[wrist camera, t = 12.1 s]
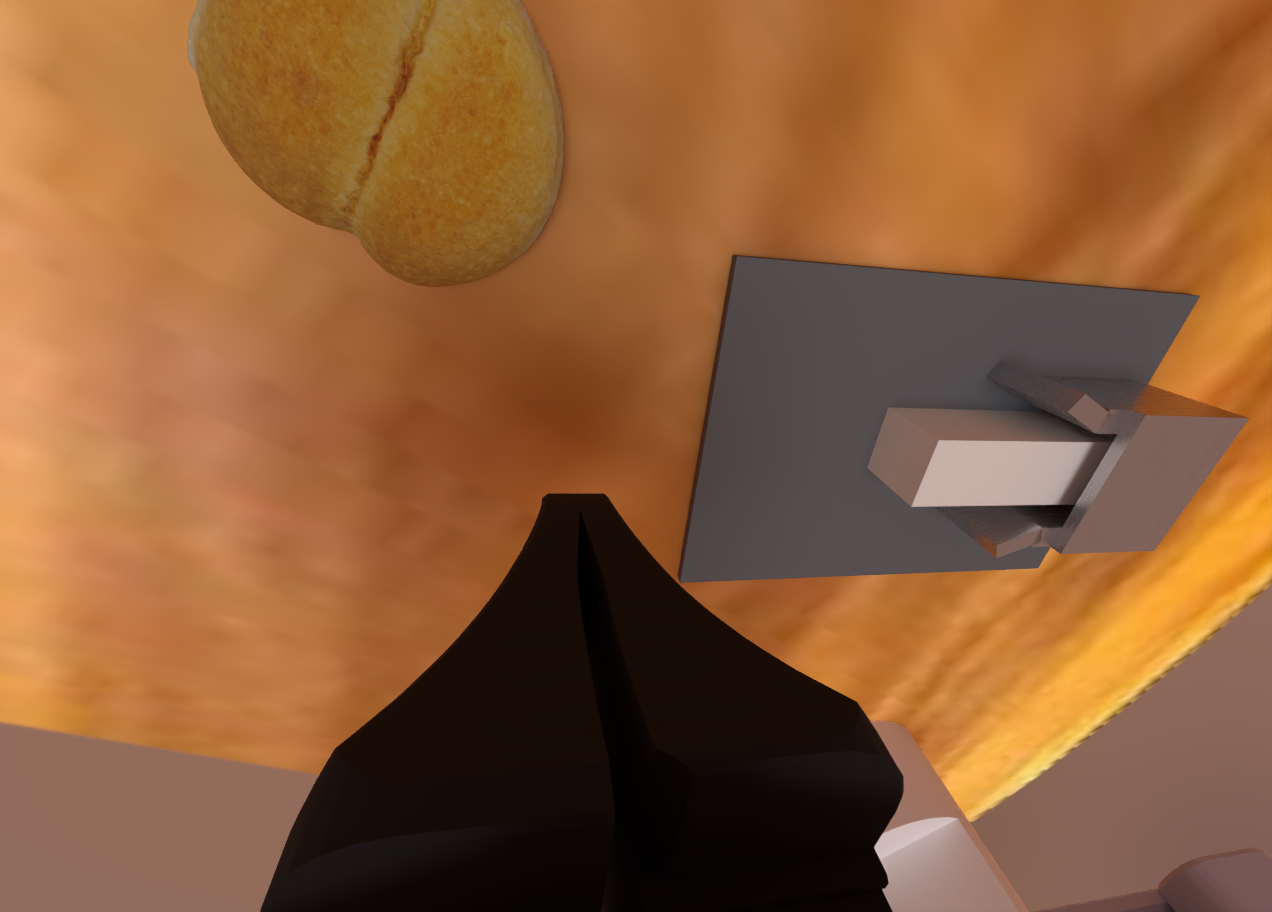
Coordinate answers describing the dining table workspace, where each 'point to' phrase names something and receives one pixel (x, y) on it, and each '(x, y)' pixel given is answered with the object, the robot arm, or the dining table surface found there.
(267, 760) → the dining table surface
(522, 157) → the bread roll
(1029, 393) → the end cap
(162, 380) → the dining table surface
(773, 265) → the mat
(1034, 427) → the pale grey rectangular bar
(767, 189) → the dining table surface
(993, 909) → the base with upright slab
